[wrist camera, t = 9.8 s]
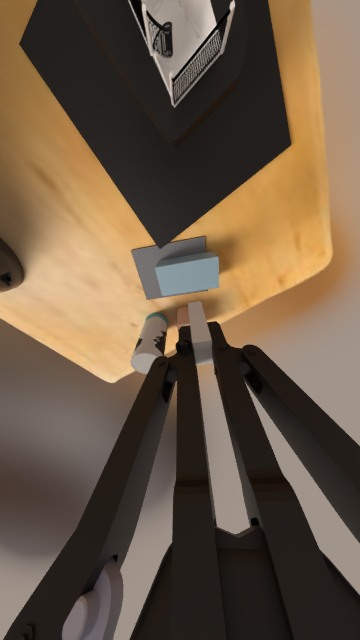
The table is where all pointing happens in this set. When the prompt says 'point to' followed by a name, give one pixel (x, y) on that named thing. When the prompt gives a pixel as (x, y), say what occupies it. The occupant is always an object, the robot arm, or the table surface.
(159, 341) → the white patterned canister
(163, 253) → the charcoal mat
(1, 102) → the table surface
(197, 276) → the slate-blue block
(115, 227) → the table surface
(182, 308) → the terracotta block
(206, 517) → the robot arm
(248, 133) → the black-topped pedestal
